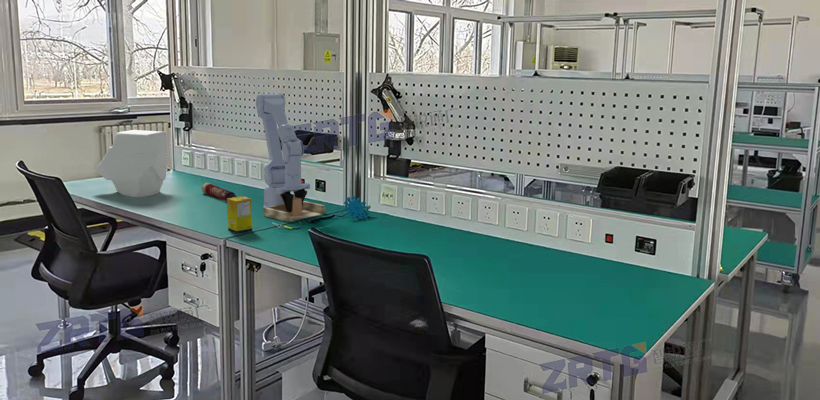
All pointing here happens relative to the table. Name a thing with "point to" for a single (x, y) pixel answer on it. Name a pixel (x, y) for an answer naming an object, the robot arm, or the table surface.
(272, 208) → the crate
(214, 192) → the red cylinder
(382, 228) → the table surface
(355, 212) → the gear
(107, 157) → the white low-poly rock
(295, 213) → the block
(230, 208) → the supplement box
